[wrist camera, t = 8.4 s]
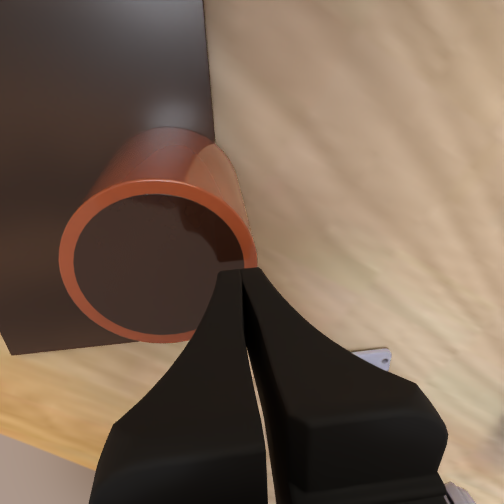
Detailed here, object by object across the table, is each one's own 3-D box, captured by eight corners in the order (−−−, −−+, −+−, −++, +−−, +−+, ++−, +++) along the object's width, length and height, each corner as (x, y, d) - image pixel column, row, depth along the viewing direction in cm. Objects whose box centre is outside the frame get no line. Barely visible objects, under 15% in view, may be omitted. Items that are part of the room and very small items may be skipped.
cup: (243, 245, 22) (121, 258, 22) (234, 120, 19) (87, 133, 18) (261, 332, 16) (88, 354, 15) (252, 169, 12) (27, 190, 12)
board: (230, 321, 26) (231, 331, 26) (17, 344, 25) (11, 355, 24) (199, -42, 16) (199, -45, 15) (-159, -32, 15) (-180, -35, 14)
